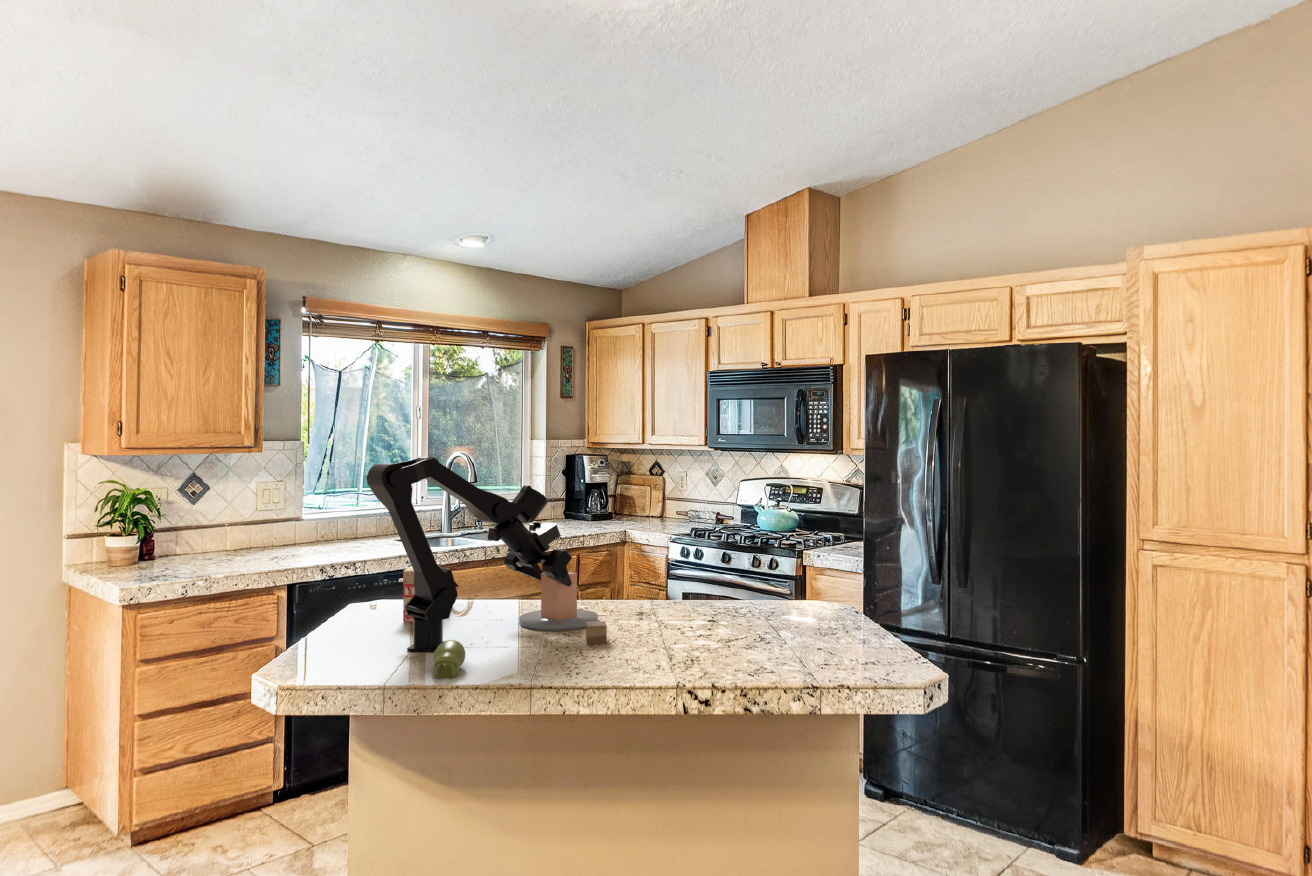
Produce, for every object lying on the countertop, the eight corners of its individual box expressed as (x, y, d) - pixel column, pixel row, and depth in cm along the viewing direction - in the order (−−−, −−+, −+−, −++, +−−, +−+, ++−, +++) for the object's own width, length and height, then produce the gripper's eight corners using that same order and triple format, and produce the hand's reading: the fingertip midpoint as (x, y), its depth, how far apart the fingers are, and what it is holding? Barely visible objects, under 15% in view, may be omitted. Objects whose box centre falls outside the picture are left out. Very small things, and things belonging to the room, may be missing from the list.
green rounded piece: (467, 635, 157) (459, 658, 147) (468, 662, 158) (460, 686, 148) (437, 635, 157) (427, 659, 147) (437, 662, 158) (427, 687, 148)
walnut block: (606, 645, 172) (606, 625, 172) (587, 645, 172) (587, 626, 172) (605, 640, 176) (605, 621, 176) (586, 641, 176) (585, 621, 176)
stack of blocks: (424, 604, 214) (424, 556, 214) (449, 604, 214) (449, 556, 214) (402, 623, 193) (402, 569, 193) (430, 623, 193) (430, 569, 193)
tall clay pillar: (576, 616, 193) (576, 573, 193) (557, 620, 189) (556, 576, 189) (560, 612, 198) (560, 570, 198) (541, 616, 193) (541, 573, 193)
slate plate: (590, 631, 183) (590, 626, 183) (509, 630, 185) (509, 624, 185) (604, 614, 201) (604, 609, 201) (530, 612, 203) (530, 607, 203)
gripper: (565, 514, 183) (603, 559, 191) (515, 508, 196) (552, 551, 204) (535, 553, 177) (576, 599, 185) (486, 545, 190) (525, 588, 198)
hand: (557, 582), depth 193 cm, fingers open, 9 cm apart
